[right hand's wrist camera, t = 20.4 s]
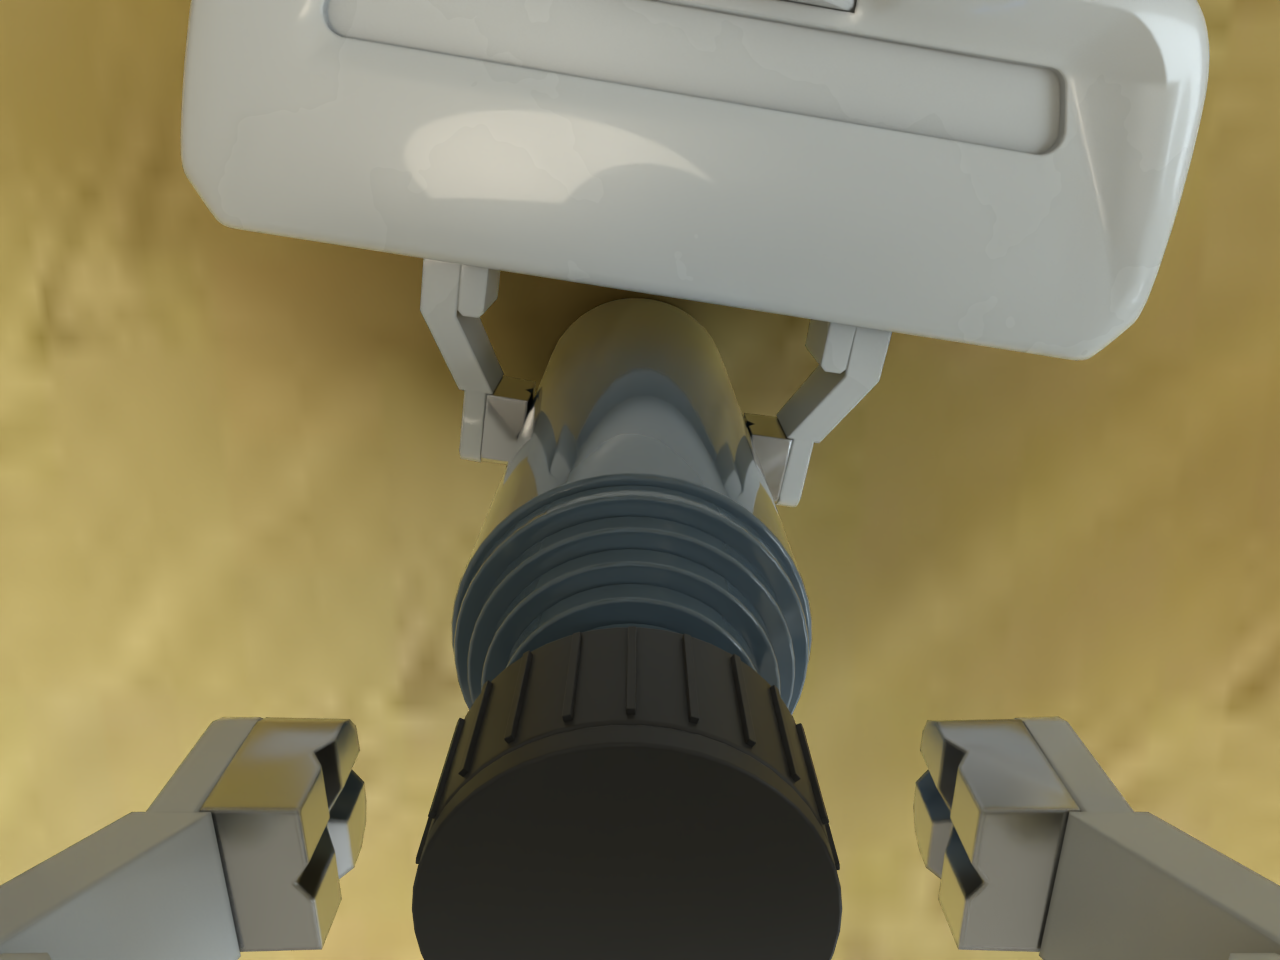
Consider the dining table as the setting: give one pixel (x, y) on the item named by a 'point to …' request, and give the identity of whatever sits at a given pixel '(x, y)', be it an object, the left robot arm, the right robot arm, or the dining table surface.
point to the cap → (627, 813)
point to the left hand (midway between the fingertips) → (631, 476)
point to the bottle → (633, 510)
